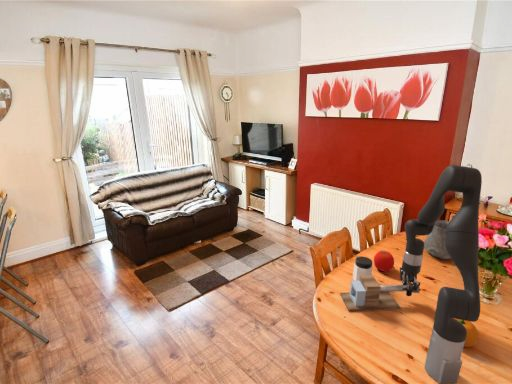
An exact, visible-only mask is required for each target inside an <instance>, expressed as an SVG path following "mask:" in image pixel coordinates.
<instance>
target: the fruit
mask: <svg viewBox="0 0 512 384" xmlns="http://www.w3.org/2000/svg"><path fill="white" fill-rule="evenodd" d="M454 319H456V318H454ZM456 320H457V321H459V322H460V323H462V324H463V325H464V327H465V328H466V330H467V336H466V339H465V343H464V347H463V348H471V347H473V346H475V345H476V344H477V343H478V341H479V337H480V334H479V331H478V328H477V327H476V326H475V324H474V323H473V322H471V321H466V320H461V319H456Z"/></svg>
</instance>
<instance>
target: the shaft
mask: <svg viewBox="0 0 512 384" xmlns="http://www.w3.org/2000/svg"><path fill="white" fill-rule="evenodd" d="M379 285H380V284H379ZM380 286H381V289H380V292H389V293H392V292H394V293H396V292H399V293H400V292H407V285H403V284H386V285H385V284H381V285H380ZM411 286H412V285H410V287H411ZM420 290H421V289H420V286H419V287H418V289H417V290H416V291H412V294H419V293H420Z"/></svg>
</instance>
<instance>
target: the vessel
mask: <svg viewBox="0 0 512 384" xmlns="http://www.w3.org/2000/svg"><path fill="white" fill-rule="evenodd" d="M449 222H450V221H448V220H443V219H442V220H441V219H438V220H437V221H436V222H435V225H434V228H433V231H432V233H430V234H429V235H426V238H425V239H424V240H423V242H424V250H425V252H427V253H428V254H430V255H432V256H433V257H436V258H438V259H442V260H452V259H451V257H450V255H449V254H448V252H447V250H446V247H445V232H446V227H447V225H448V223H449Z"/></svg>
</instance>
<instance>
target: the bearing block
mask: <svg viewBox="0 0 512 384" xmlns="http://www.w3.org/2000/svg"><path fill="white" fill-rule="evenodd" d="M359 281H360V282H361V284H362V285H363V287H364V288H365V290H366V297H365V305H364V306H355V304H354V302H353V300H352V299H351V297H350V291H349V292H340V293H339V295H340V296H341V298H342V302H343V303H344V306H345V307H346V309H347V311H348V312H369V311H371V312H373V311H398V310H399V311H400V310H401V309H402V307H401V306H400V304H399V303H398V302H397V300H396V299H395V298H394V296H393V295H392V294H391V292H380V289H381V286H380V283H379V282H378V281H377V280H376V278H375V277H374V275H360V278H359Z"/></svg>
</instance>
